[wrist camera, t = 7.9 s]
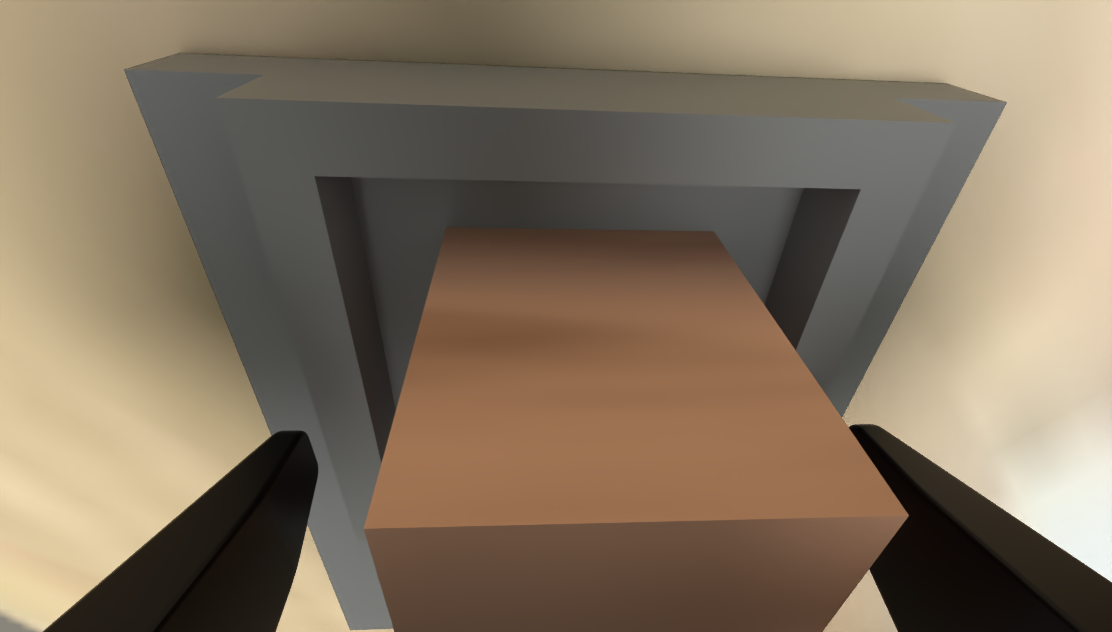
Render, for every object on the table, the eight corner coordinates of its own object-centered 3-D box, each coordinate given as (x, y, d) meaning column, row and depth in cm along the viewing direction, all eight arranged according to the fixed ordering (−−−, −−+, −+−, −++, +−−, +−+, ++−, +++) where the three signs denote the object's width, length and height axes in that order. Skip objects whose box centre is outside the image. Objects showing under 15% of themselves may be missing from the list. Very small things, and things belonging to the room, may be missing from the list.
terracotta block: (668, 417, 13) (761, 712, 8) (462, 419, 12) (424, 730, 7) (713, 231, 10) (908, 516, 5) (446, 227, 9) (362, 528, 4)
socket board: (725, 575, 20) (813, 845, 14) (361, 586, 19) (286, 882, 13) (946, 83, 10) (1645, 300, 4) (178, 53, 9) (-590, 282, 3)
